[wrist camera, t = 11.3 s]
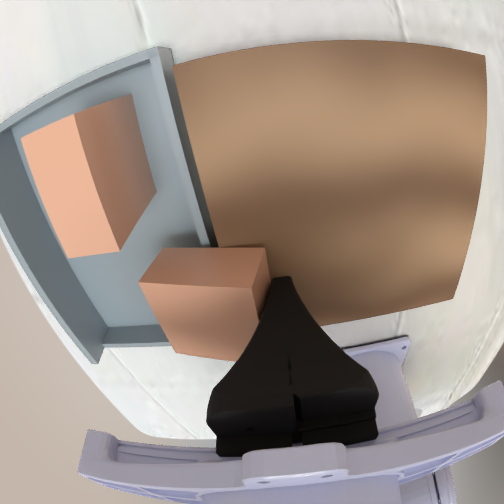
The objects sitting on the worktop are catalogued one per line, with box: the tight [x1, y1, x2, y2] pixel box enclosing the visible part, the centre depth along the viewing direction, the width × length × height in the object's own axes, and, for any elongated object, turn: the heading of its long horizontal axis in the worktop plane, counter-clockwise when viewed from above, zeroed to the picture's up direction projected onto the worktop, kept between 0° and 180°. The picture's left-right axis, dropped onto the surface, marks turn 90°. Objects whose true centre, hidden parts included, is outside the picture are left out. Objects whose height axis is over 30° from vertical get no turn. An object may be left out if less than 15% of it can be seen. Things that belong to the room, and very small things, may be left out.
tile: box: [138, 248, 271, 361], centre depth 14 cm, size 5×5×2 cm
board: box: [172, 40, 487, 326], centre depth 13 cm, size 14×13×2 cm
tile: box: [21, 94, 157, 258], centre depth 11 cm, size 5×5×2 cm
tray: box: [0, 46, 219, 364], centre depth 14 cm, size 16×10×4 cm, turn 10°
